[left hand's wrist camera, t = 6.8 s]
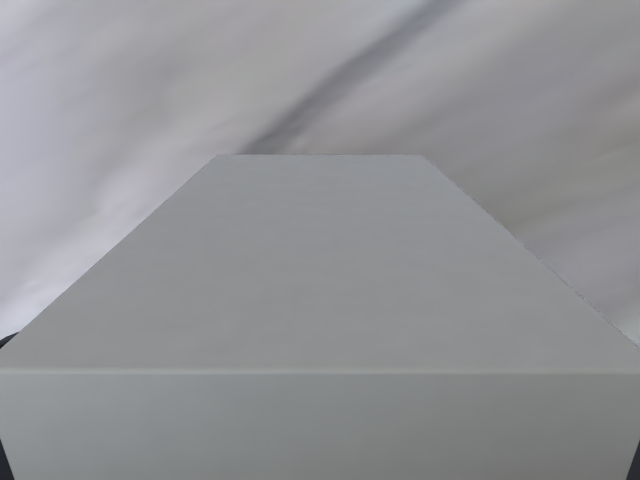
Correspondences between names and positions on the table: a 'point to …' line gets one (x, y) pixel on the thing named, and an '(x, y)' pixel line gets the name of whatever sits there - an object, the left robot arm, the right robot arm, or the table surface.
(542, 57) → the table surface
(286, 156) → the box
